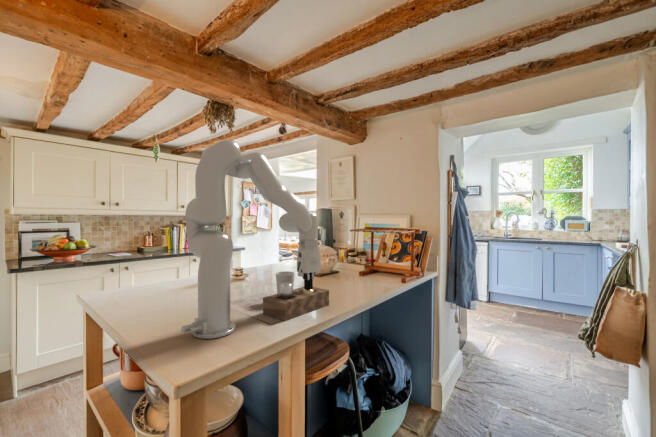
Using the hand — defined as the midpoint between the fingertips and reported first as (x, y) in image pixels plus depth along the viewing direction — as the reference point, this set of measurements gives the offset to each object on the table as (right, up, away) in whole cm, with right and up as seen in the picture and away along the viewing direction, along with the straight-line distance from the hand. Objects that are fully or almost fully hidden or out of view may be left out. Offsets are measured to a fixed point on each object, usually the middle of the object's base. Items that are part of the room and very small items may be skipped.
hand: (308, 289), depth 118 cm
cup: (-10, -7, +6) cm, 14 cm away
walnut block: (-4, -7, -5) cm, 9 cm away
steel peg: (-8, -2, -9) cm, 12 cm away
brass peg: (0, -6, 0) cm, 6 cm away
